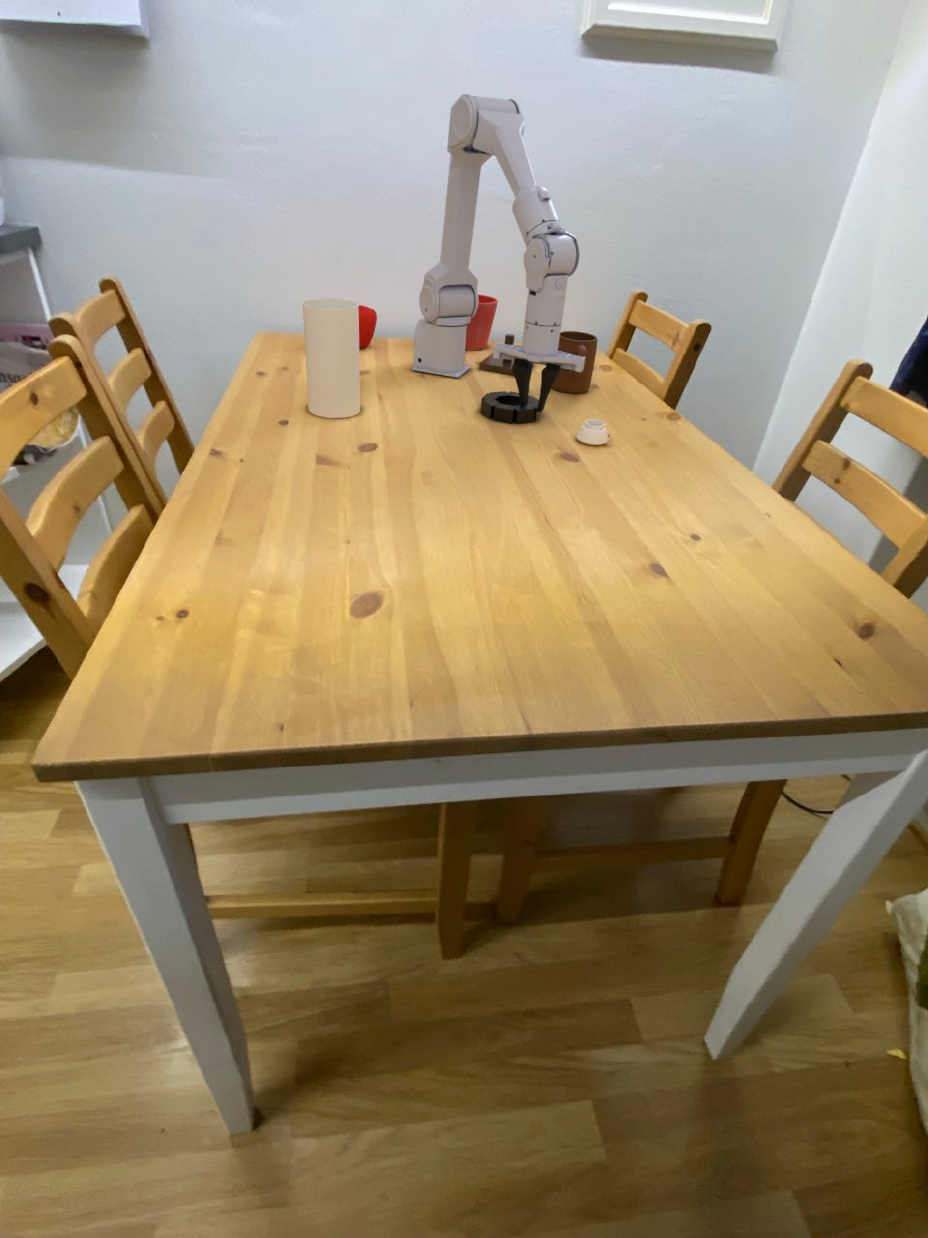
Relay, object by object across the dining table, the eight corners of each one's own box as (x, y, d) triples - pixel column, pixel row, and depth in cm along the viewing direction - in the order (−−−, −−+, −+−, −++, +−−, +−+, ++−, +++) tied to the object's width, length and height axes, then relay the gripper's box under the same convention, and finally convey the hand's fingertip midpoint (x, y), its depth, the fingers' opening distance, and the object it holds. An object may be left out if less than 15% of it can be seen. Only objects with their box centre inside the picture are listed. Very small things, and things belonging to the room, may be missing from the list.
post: (478, 369, 138) (481, 336, 134) (491, 358, 145) (494, 327, 141) (522, 376, 136) (526, 343, 132) (533, 365, 143) (537, 333, 139)
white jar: (583, 447, 107) (612, 446, 108) (586, 428, 105) (616, 427, 106) (570, 435, 111) (598, 434, 112) (573, 417, 109) (602, 416, 110)
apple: (326, 348, 142) (324, 307, 138) (344, 339, 149) (343, 299, 145) (366, 354, 141) (366, 313, 136) (383, 345, 148) (383, 305, 143)
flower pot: (447, 337, 157) (450, 290, 152) (495, 342, 156) (500, 295, 151) (440, 348, 149) (442, 299, 143) (490, 354, 148) (495, 305, 142)
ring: (474, 416, 115) (475, 403, 113) (491, 400, 122) (492, 387, 121) (530, 427, 112) (532, 413, 111) (544, 409, 120) (546, 397, 119)
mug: (596, 403, 125) (606, 348, 120) (554, 400, 125) (562, 345, 120) (586, 383, 135) (594, 332, 130) (547, 380, 135) (554, 329, 129)
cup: (368, 406, 115) (367, 302, 106) (345, 421, 109) (342, 311, 99) (324, 398, 117) (319, 294, 108) (298, 412, 110) (291, 303, 101)
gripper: (491, 320, 106) (483, 408, 114) (584, 334, 103) (570, 423, 111) (503, 311, 112) (495, 396, 120) (592, 324, 109) (578, 410, 117)
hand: (532, 408), depth 116 cm, fingers closed on ring, 2 cm apart
